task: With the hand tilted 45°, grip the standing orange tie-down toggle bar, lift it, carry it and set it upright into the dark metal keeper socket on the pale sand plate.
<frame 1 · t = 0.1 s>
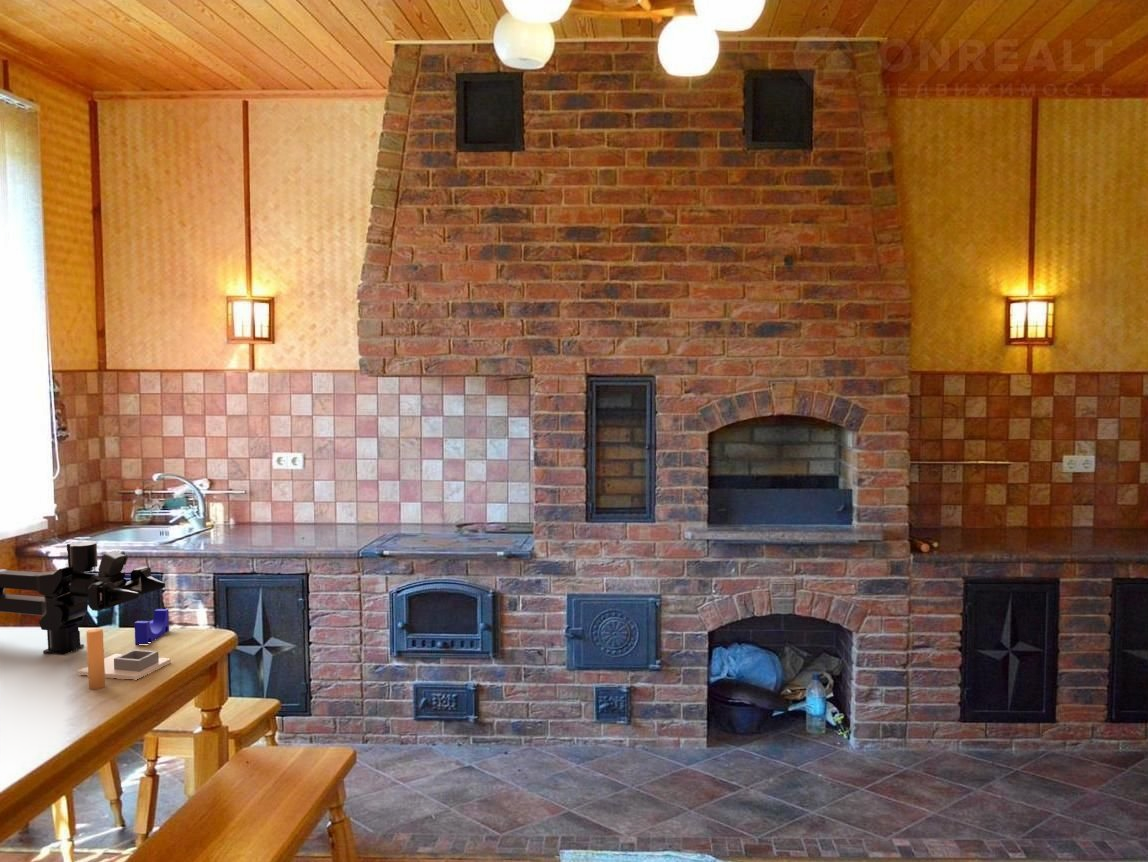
hand: (152, 590, 219), 17 cm above the table, tool horizontal, fingers open, 9 cm apart
keeper plate: (125, 668, 214), on the table
cable clip: (149, 639, 236), on the table
toggle bar: (97, 686, 203), on the table
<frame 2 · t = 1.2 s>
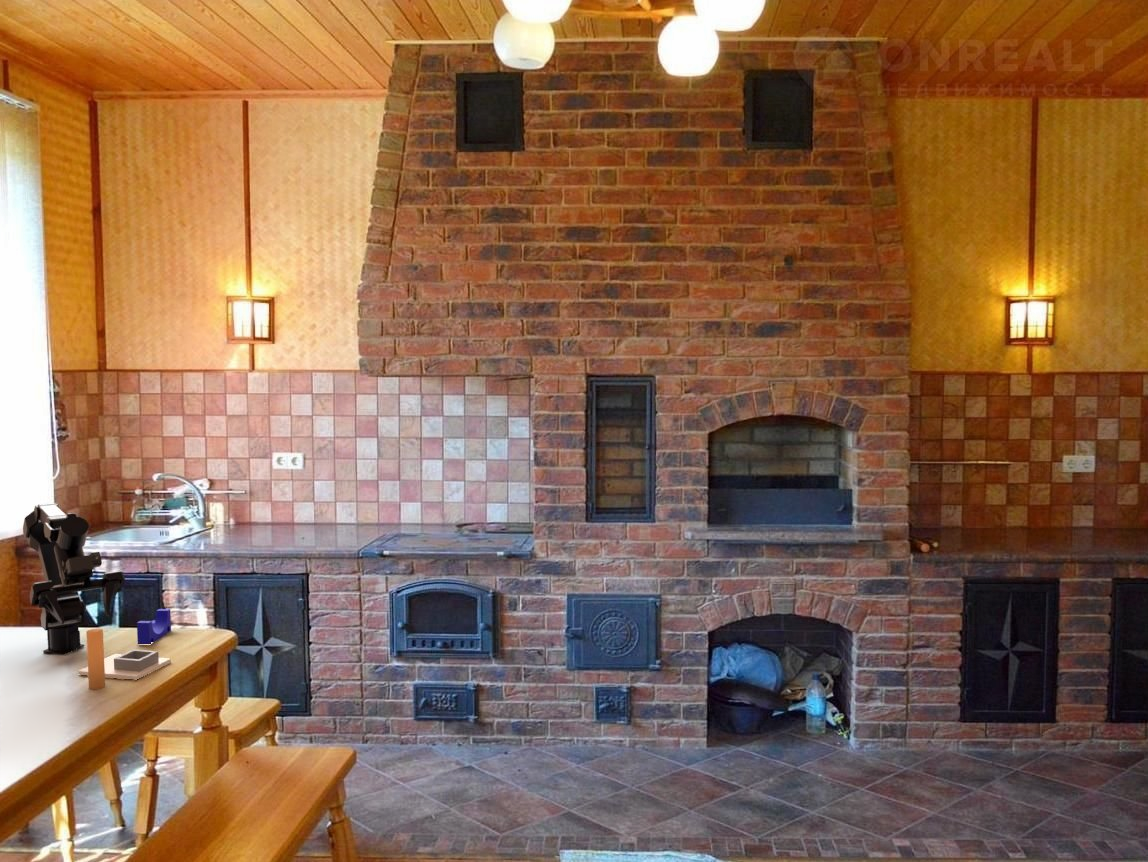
hand: (86, 619, 207), 13 cm above the table, tool tilted 45°, fingers open, 9 cm apart
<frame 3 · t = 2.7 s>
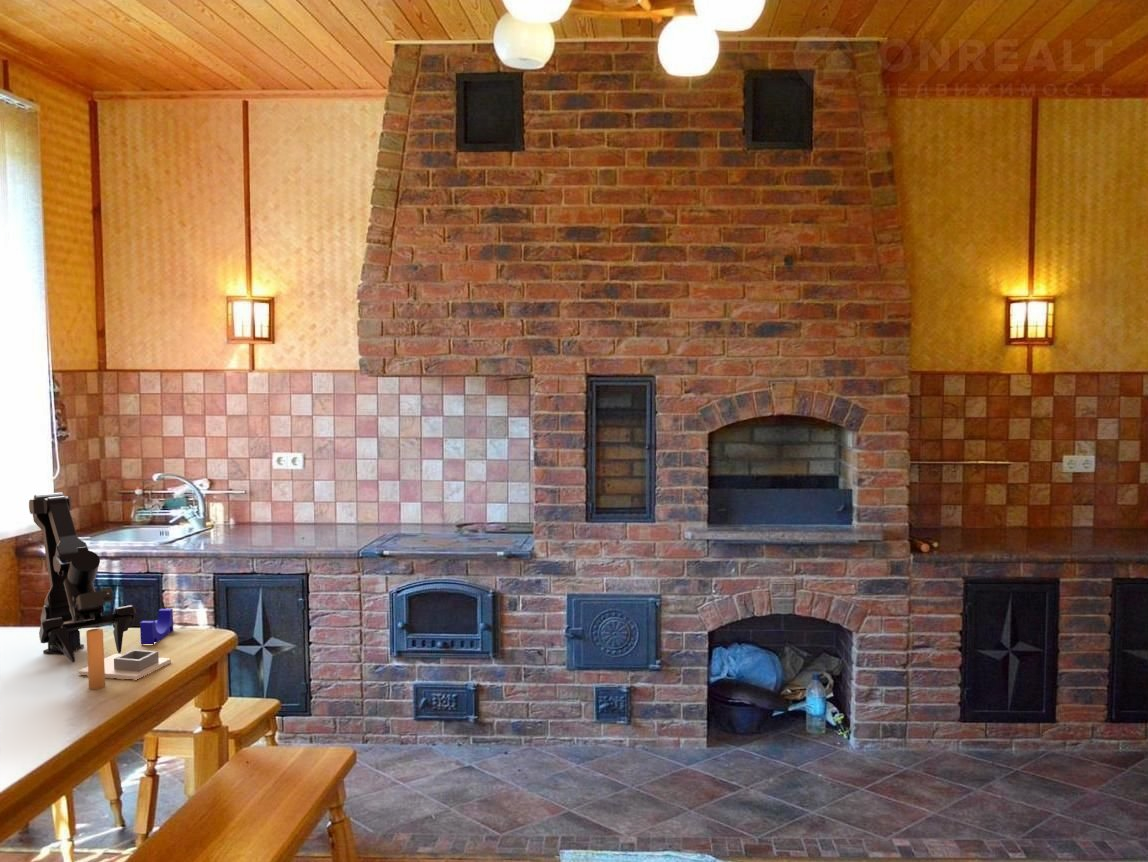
hand: (97, 656, 201), 7 cm above the table, tool tilted 45°, fingers open, 9 cm apart
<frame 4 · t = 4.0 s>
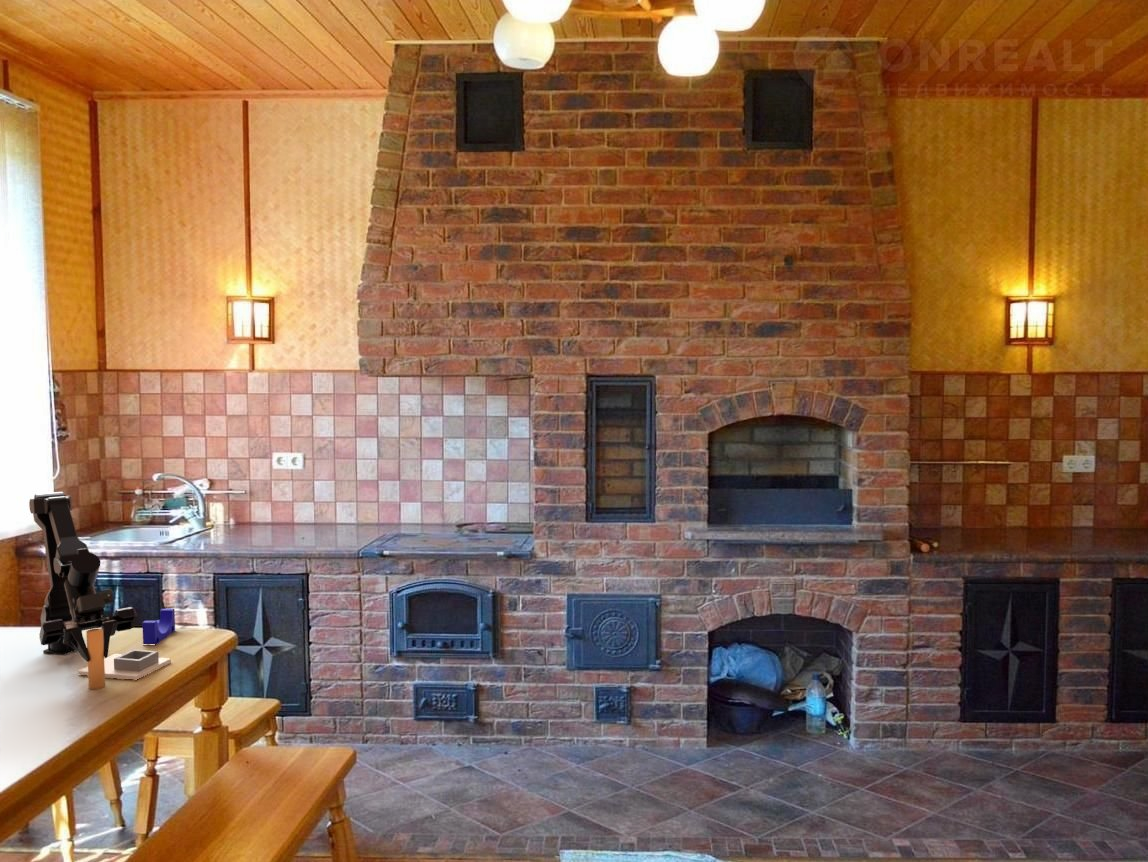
hand: (97, 658, 201), 7 cm above the table, tool tilted 45°, fingers closed on toggle bar, 3 cm apart
toggle bar: (97, 686, 203), on the table, touching gripper
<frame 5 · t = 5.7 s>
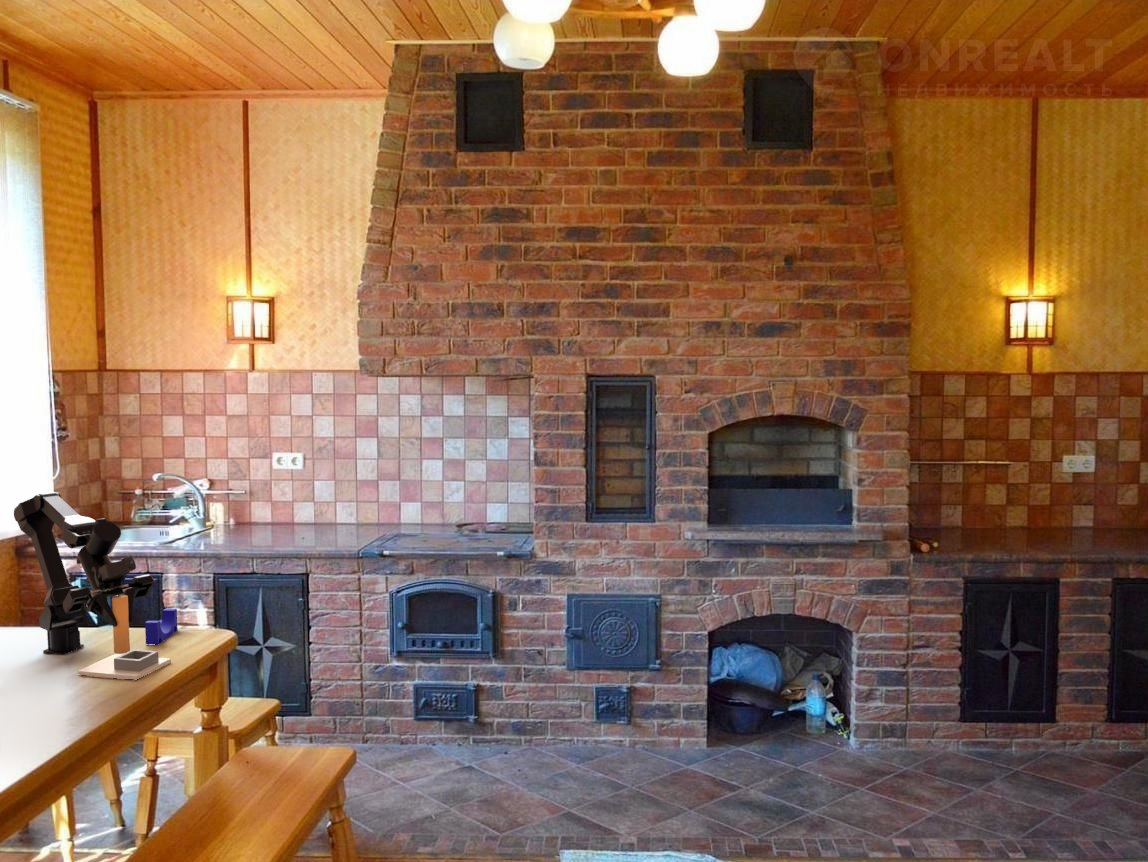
hand: (124, 623, 207), 12 cm above the table, tool tilted 45°, fingers closed on toggle bar, 3 cm apart
toggle bar: (122, 651, 208), point 6 cm above the table, touching gripper
when the fingers open (8 cm above the table, at t = 7.7 s): toggle bar stays where it is, resting on keeper plate.
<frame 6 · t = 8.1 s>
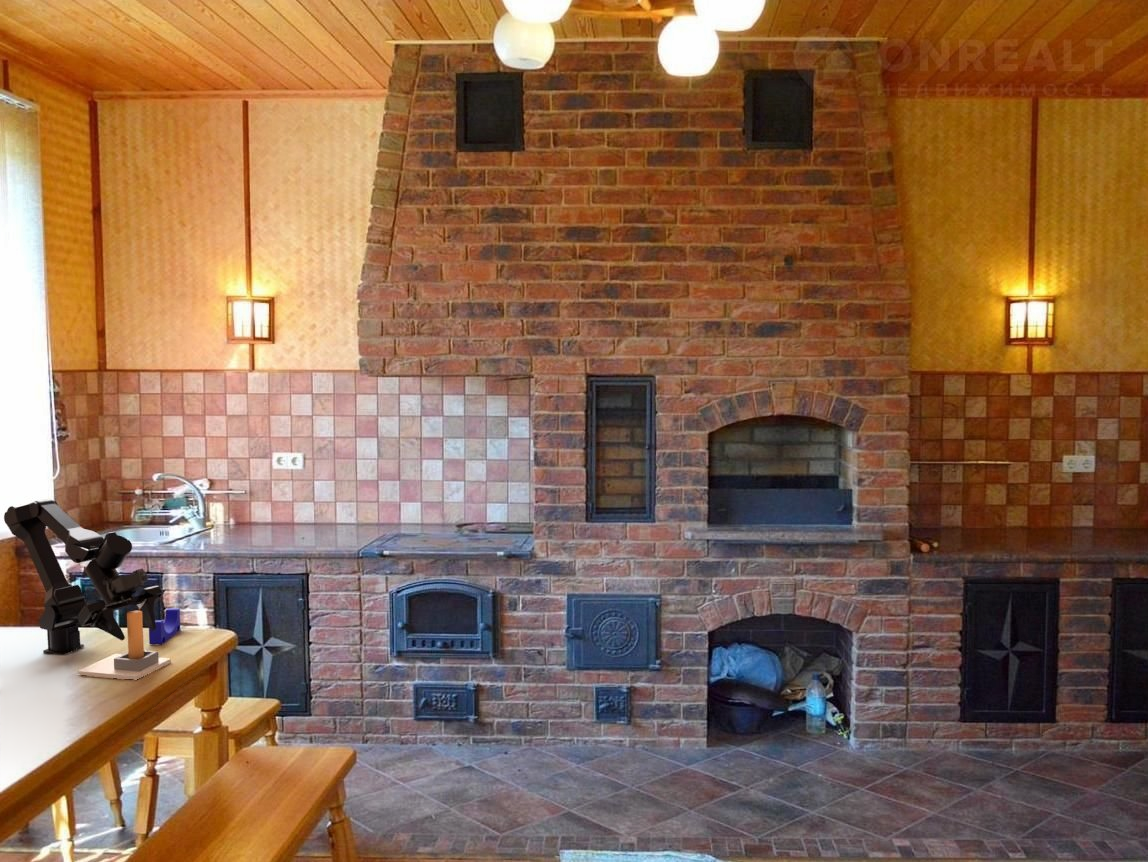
hand: (139, 634, 212), 9 cm above the table, tool tilted 45°, fingers open, 8 cm apart
toggle bar: (136, 665, 213), point 1 cm above the table, touching keeper plate
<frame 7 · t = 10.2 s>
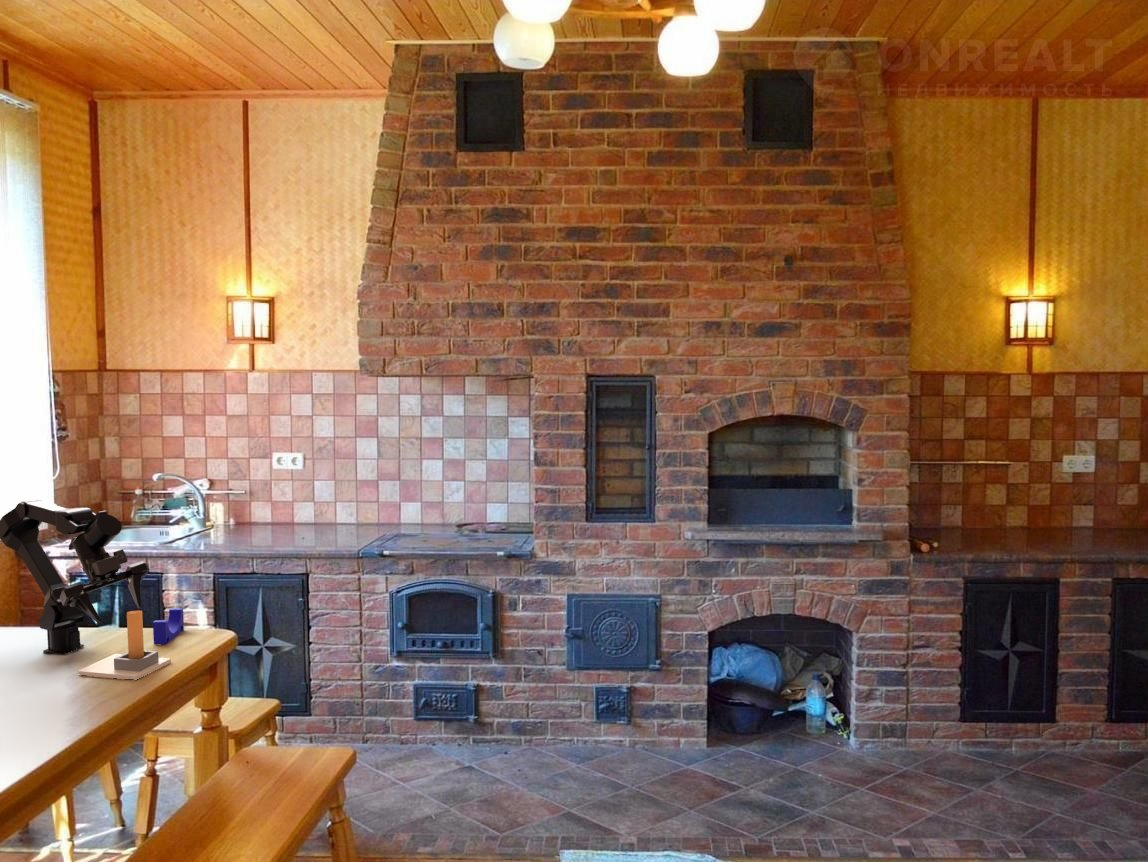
hand: (120, 615, 215), 12 cm above the table, tool tilted 35°, fingers open, 9 cm apart
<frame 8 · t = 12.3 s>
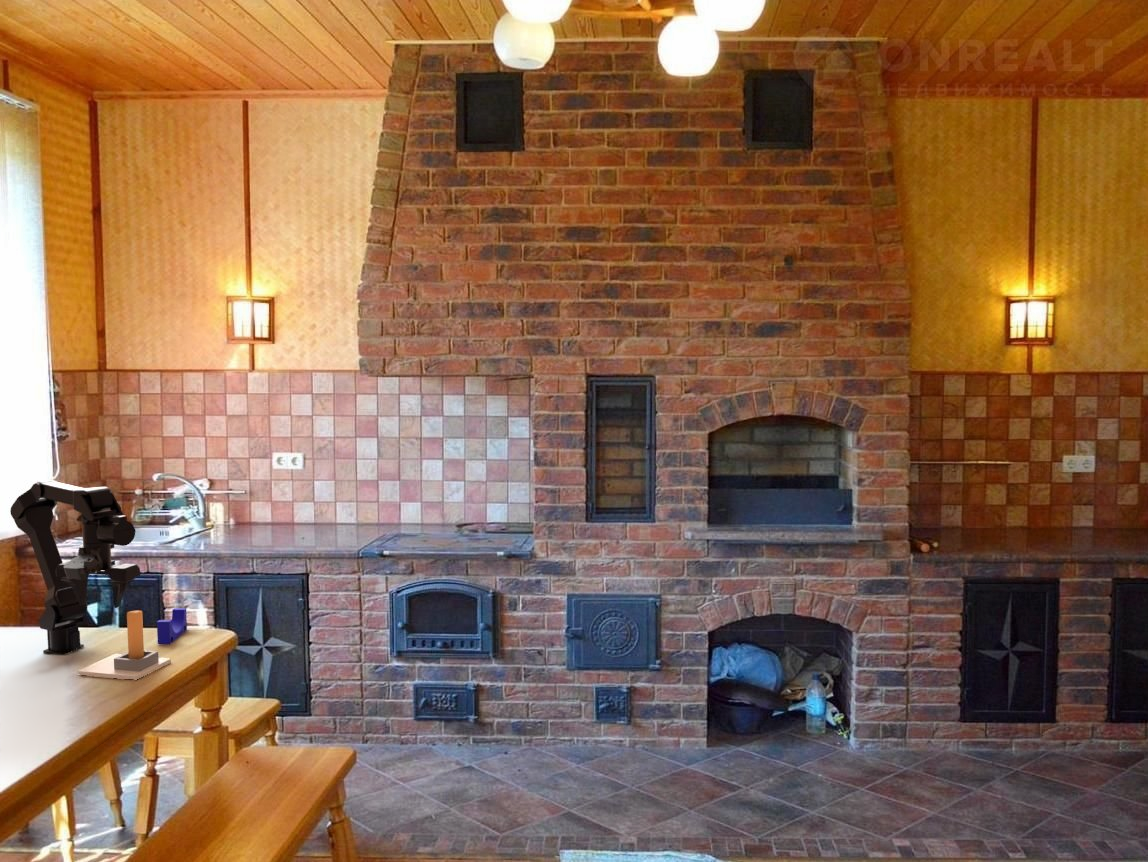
hand: (99, 606, 218), 13 cm above the table, tool pointing down, fingers open, 9 cm apart
at the end: toggle bar 0.0 cm from the target spot on the keeper plate, point 1.0 cm above the keeper plate's base; toggle bar tilted 0°; the gripper is holding nothing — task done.
